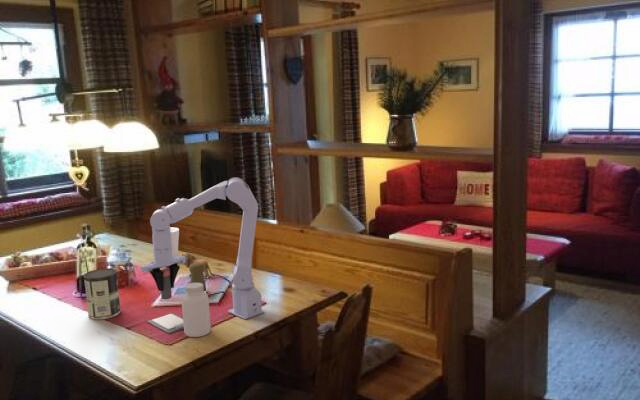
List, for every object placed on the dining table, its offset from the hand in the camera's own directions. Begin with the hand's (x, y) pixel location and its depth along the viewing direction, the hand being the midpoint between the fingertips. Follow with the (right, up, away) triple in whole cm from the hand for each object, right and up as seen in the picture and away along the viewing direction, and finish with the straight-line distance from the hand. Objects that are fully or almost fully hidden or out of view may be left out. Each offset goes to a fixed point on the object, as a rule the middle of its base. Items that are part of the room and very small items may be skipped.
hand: (165, 288), depth 183 cm
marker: (0, -3, +1) cm, 3 cm away
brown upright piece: (+5, -5, +24) cm, 26 cm away
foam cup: (-16, +2, +66) cm, 68 cm away
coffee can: (-22, -10, +7) cm, 25 cm away
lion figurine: (+1, -2, +43) cm, 43 cm away
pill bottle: (+12, -12, -9) cm, 19 cm away
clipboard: (+2, -11, -2) cm, 11 cm away
